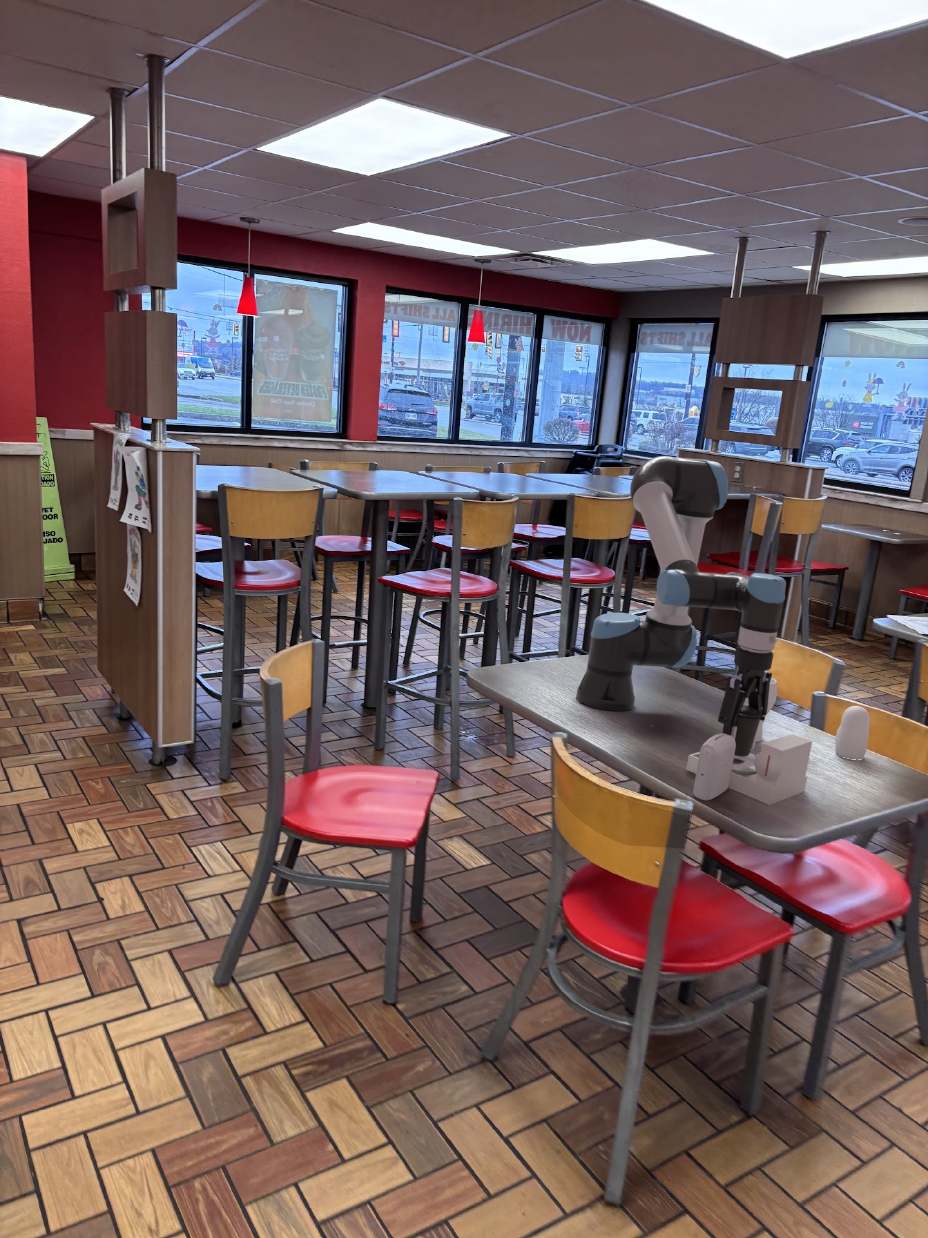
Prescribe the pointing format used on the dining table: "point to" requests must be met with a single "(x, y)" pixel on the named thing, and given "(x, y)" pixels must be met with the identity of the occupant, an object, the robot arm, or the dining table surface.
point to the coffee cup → (746, 730)
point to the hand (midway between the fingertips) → (736, 750)
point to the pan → (744, 764)
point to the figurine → (853, 733)
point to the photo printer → (714, 766)
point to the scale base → (772, 770)
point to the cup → (770, 704)
